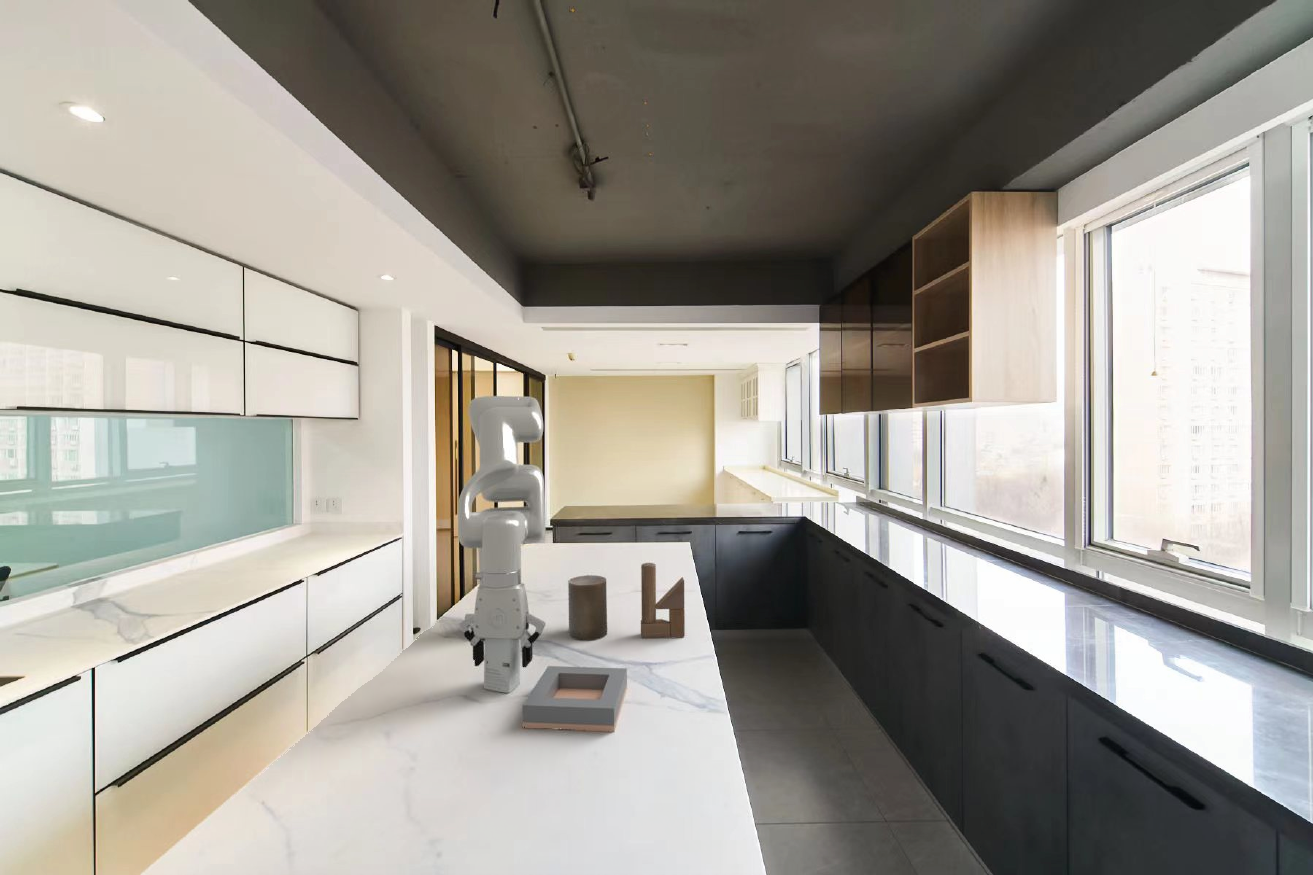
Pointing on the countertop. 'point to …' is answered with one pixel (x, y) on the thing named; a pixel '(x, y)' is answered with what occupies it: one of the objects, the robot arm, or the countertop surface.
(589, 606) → the pillar candle
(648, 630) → the wooden block
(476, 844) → the countertop surface
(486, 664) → the skincare box
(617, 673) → the gray square frame
